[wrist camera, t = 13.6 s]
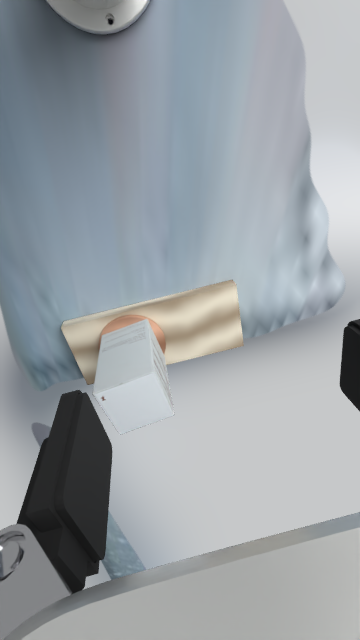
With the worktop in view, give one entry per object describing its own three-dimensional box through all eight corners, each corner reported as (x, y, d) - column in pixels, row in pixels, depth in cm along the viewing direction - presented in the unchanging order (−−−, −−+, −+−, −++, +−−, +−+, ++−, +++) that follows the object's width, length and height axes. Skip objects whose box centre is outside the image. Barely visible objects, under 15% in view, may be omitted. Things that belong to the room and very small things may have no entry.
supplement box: (121, 371, 47) (117, 437, 36) (100, 333, 43) (89, 394, 32) (165, 356, 47) (176, 417, 36) (149, 316, 43) (154, 371, 32)
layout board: (63, 321, 45) (59, 331, 42) (232, 279, 45) (238, 287, 43) (89, 377, 50) (86, 389, 48) (239, 339, 51) (245, 349, 48)
